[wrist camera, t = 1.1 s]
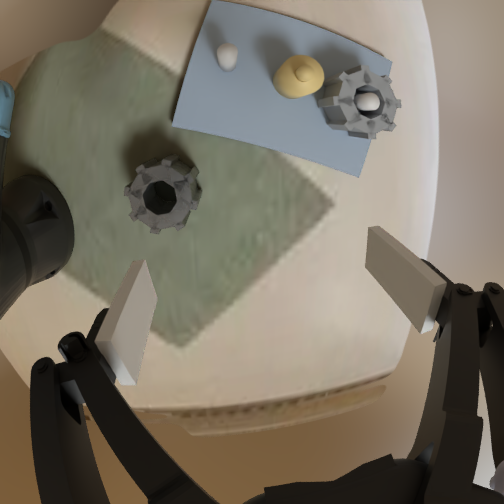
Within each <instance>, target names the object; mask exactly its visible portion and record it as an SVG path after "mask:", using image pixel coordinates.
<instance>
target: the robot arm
mask: <svg viewBox="0 0 504 504" xmlns="http://www.w3.org/2000/svg"><path fill="white" fill-rule="evenodd" d="M14 101H15V94H14V90H13V88H12V86H11V85H10V84H9V83H7V82H6V81H3V80H0V320H1V318H2V317H3V316H4V314H5V313H6V312H7V311H8V309H9V308H10V307H11V306H12V305H13V303H14V302H15V301H16V300H17V299H18V297H19V296H20V295H21V294H22V293H23V292H24V290H25V289H26V288H27V287H29V286H31V285H34V284H36V283H39V282H41V281H44V280H46V279H49V278H51V277H53V276H54V275H56V274H57V273H58V272H59V271H60V270H61V269H62V268H63V267H64V266H65V265H66V263H67V262H68V260H69V259H70V257H71V254H72V251H73V247H74V226H73V221H72V217H71V213H70V211H69V208H68V206H67V204H66V202H65V200H64V198H63V197H62V195H61V194H60V192H59V191H58V190H57V189H56V188H55V186H54V185H52V184H51V183H50V182H49V181H47V180H46V179H44V178H42V177H39V176H36V175H26V176H22V177H20V178H17V179H15V180H13V181H11V182H10V183H8V184H7V185H6V186H5V187H4V188H3V174H4V164H5V156H6V148H7V142H8V138H10V135H11V132H10V123H11V117H12V111H13V106H14ZM2 188H3V189H2ZM365 268H366V269H367V270H368V271H369V272H370V273H371V274H372V276H373V277H374V278H375V279H376V280H377V281H378V283H379V284H380V285H381V286H382V287H383V288H384V290H385V291H386V292H387V293H388V294H389V296H390V297H391V298H392V299H393V300H394V302H395V303H396V304H397V305H398V306H399V308H400V309H401V310H402V311H403V313H404V314H405V315H406V316H407V318H408V319H409V320H410V321H411V323H412V324H413V325H414V326H415V328H416V329H417V330H418V332H419V333H420V334H422V333H425V332H428V331H430V330H432V328H433V325H434V323H435V320H436V321H437V322H438V323H439V328H438V330H437V333H436V336H435V338H434V340H433V342H435V341H436V347H435V354H434V362H433V368H432V373H431V379H430V384H429V389H428V393H427V398H426V402H425V407H424V411H423V415H422V419H421V422H420V426H419V429H418V433H417V436H416V439H415V443H414V445H413V448H412V450H411V452H410V453H409V455H408V457H407V459H393V457H392V455H391V454H389V455H386V456H384V457H381V458H379V459H376V460H373V461H370V462H368V463H365V464H362V465H361V466H359V467H357V468H356V469H354V470H352V471H351V472H349V473H347V474H345V475H344V476H342V477H340V478H338V479H336V480H334V481H328V482H295V483H290V484H284V485H278V486H271V487H265V488H264V491H265V493H263V494H260V495H257V496H255V497H253V498H251V499H249V500H248V501H246V502H244V503H243V504H504V289H503V288H502V287H501V286H500V285H499V284H496V283H492V282H489V283H486V284H485V286H484V288H483V291H479V292H474V291H473V289H472V288H471V287H469V286H468V285H465V284H460V283H457V284H454V283H453V282H451V280H449V279H448V278H447V277H446V276H445V275H444V274H443V273H441V272H440V271H439V270H438V269H437V268H435V267H434V266H433V265H432V264H431V263H430V262H428V261H426V260H424V259H420V258H418V257H417V256H416V255H415V254H414V253H412V252H411V251H410V250H409V249H408V248H406V247H405V246H404V245H403V244H401V243H400V242H399V241H398V240H396V239H395V238H394V237H393V236H391V235H390V234H389V233H388V232H386V231H385V230H384V229H382V228H381V227H380V226H374V227H368V240H367V252H366V263H365ZM157 300H158V298H157V295H156V292H155V289H154V286H153V283H152V280H151V277H150V274H149V271H148V268H147V264H146V261H145V259H144V260H138V261H133V262H132V264H131V266H130V268H129V270H128V272H127V274H126V275H125V277H124V279H123V281H122V283H121V285H120V287H119V289H118V291H117V293H116V295H115V297H114V299H113V302H112V304H111V306H110V308H105V309H103V310H102V311H101V312H100V313H99V314H98V315H97V317H96V319H95V321H94V324H93V325H92V327H91V329H90V331H89V333H88V335H87V338H86V339H85V337H84V335H83V334H82V333H81V332H71V333H69V334H67V335H65V336H64V337H63V338H62V339H61V340H60V341H59V344H58V350H59V352H60V353H61V355H62V356H63V358H64V359H65V362H62V363H58V364H55V363H54V361H53V360H52V359H51V358H49V357H44V358H41V359H39V360H37V361H36V362H35V363H34V365H33V367H32V370H31V382H30V421H31V438H32V450H33V458H34V466H35V473H36V479H37V484H38V489H39V494H40V499H41V503H42V504H110V502H109V499H108V497H107V494H106V491H105V488H104V486H103V483H102V480H101V477H100V474H99V471H98V467H97V464H96V461H95V457H94V454H93V450H92V446H91V442H90V439H89V434H88V430H87V426H86V420H85V416H84V411H83V405H82V403H86V405H87V407H88V409H89V411H90V412H91V414H92V416H93V418H94V420H95V422H96V423H97V425H98V427H99V429H100V430H101V432H102V434H103V435H104V437H105V439H106V440H107V442H108V444H109V445H110V447H111V448H112V450H113V451H114V453H115V455H116V456H117V458H118V459H119V461H120V462H121V463H122V465H123V466H124V467H125V469H126V471H127V472H128V473H129V475H130V476H131V477H132V479H133V480H134V481H135V483H136V484H137V485H138V487H139V488H140V489H141V490H142V492H143V493H144V494H145V496H146V497H147V498H148V504H220V503H218V502H217V501H216V500H215V499H214V498H213V497H211V496H210V495H209V494H208V493H207V492H206V491H205V490H204V489H203V488H201V487H200V486H199V485H198V484H197V483H196V482H195V481H194V480H193V479H192V478H191V477H190V476H189V475H188V474H187V473H186V472H185V471H184V470H183V469H182V468H181V467H180V466H179V465H178V464H177V463H176V462H175V461H174V459H173V458H172V457H171V456H170V455H169V454H168V453H167V452H166V451H165V450H164V449H163V447H162V446H161V445H160V444H159V443H158V441H157V440H156V439H155V438H154V437H153V436H152V434H151V433H150V432H149V431H148V429H146V427H145V426H144V424H143V423H142V422H141V421H140V419H139V418H138V417H137V415H136V414H135V413H134V411H133V410H132V409H131V407H130V406H129V405H128V403H127V402H126V400H125V399H124V398H123V396H122V395H121V393H120V392H119V390H118V389H117V388H116V386H115V385H114V383H115V380H116V378H117V379H118V381H119V382H120V384H121V385H137V380H138V376H139V371H140V367H141V362H142V358H143V354H144V350H145V345H146V341H147V337H148V333H149V329H150V326H151V322H152V318H153V314H154V311H155V307H156V303H157ZM492 324H493V326H492ZM479 371H480V372H481V376H482V381H483V386H484V391H485V397H486V403H487V409H488V415H489V423H490V432H491V443H492V452H493V459H494V464H495V468H496V471H495V475H494V476H493V477H492V478H491V480H490V487H491V488H492V489H494V490H491V489H488V488H485V487H482V486H479V485H477V484H474V483H473V479H474V475H475V471H476V467H477V462H478V456H479V451H480V445H481V438H482V431H483V419H482V417H478V416H477V408H478V396H479Z"/></svg>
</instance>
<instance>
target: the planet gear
mask: <svg viewBox="0 0 504 504" xmlns="http://www.w3.org/2000/svg"><path fill="white" fill-rule="evenodd" d="M179 157H180V155H174V154H172V155H170V156H168V157H166V158H164V159H162V161H159V162H157V161H156V159H155V158H154V159H151V160H149V161H147V162H145V163H143V164H141V165H140V166H139V167H137V168H136V169H135V170H136V172H137V173H138V175H137V177H136V178H135V180H134V181H133V182H131V183H130V184H128V185H127V186H125V189H124V196H129V199H130V203H131V207H132V212H131V213H130V214H129V216H130V217H131V219H132V220H133V222H134V221H135V220H137V219H139V220H140V221H142V222H143V223H145V224H146V225H148V226H149V227H151V230H150V233H154V234H159V232H160V231H161V229H164V228H169V227H175V228H176V230H177V231H178V230H180V229H182V228H183V227H185V225H186V222H187V220H188V217H189V215H190V209H193V210H196V209H197V206H198V204H199V201H200V198H201V194H202V190H199V189H197V183H196V177H197V175H198V174H199V171H198V170H197V168H196V167H195V166H194V167H192V168H189V167H188V166H186V165H185V164H183V163H182V162H180V161H179ZM162 180H163V181H165V182H166V183H168V184H169V185H171V186H172V187H174V188H175V193H176V198H177V200H175V201H170V202H166V201H164V200H163V199H161V198H160V197H158V196H157V193H156V189H155V183H156V182H157V181H162Z"/></svg>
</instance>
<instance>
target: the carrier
mask: <svg viewBox="0 0 504 504" xmlns="http://www.w3.org/2000/svg"><path fill="white" fill-rule="evenodd" d="M391 65H392V61H390V60H388V59H386V58H384V57H383V56H381V55H379V54H377V53H375V52H373V51H371V50H369V49H367V48H365V47H363V46H361V45H359V44H357V43H355V42H353V41H351V40H348V39H346V38H344V37H342V36H339V35H337V34H335V33H332V32H330V31H327V30H325V29H322V28H320V27H317V26H314V25H312V24H309V23H306V22H303V21H300V20H297V19H294V18H291V17H288V16H284V15H281V14H278V13H274V12H270V11H267V10H263V9H259V8H254V7H250V6H246V5H241V4H236V3H230V2H225V1H219V0H212V2H211V4H210V7H209V9H208V12H207V14H206V17H205V19H204V22H203V25H202V27H201V30H200V33H199V36H198V39H197V41H196V44H195V47H194V50H193V53H192V56H191V59H190V62H189V66H188V69H187V72H186V75H185V79H184V82H183V86H182V89H181V93H180V96H179V100H178V104H177V107H176V111H175V115H174V119H173V123H172V127H178V128H183V129H189V130H194V131H199V132H204V133H208V134H213V135H218V136H222V137H226V138H231V139H235V140H239V141H243V142H247V143H251V144H255V145H258V146H262V147H266V148H269V149H273V150H277V151H280V152H284V153H287V154H290V155H294V156H297V157H300V158H303V159H306V160H310V161H313V162H316V163H319V164H322V165H325V166H328V167H331V168H334V169H336V170H339V171H342V172H345V173H348V174H350V175H353V176H356V177H358V178H359V176H360V173H361V170H362V167H363V164H364V161H365V158H366V155H367V152H368V149H369V146H370V142H371V139H376V133H378V132H380V131H382V130H384V131H393V129H394V128H395V127H396V125H395V123H394V122H393V120H394V116H395V113H396V109H397V108H401V100H399V99H396V98H395V95H394V93H393V91H392V89H391V87H390V83H391V82H392V80H391V79H390V78H389V74H390V70H391Z"/></svg>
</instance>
